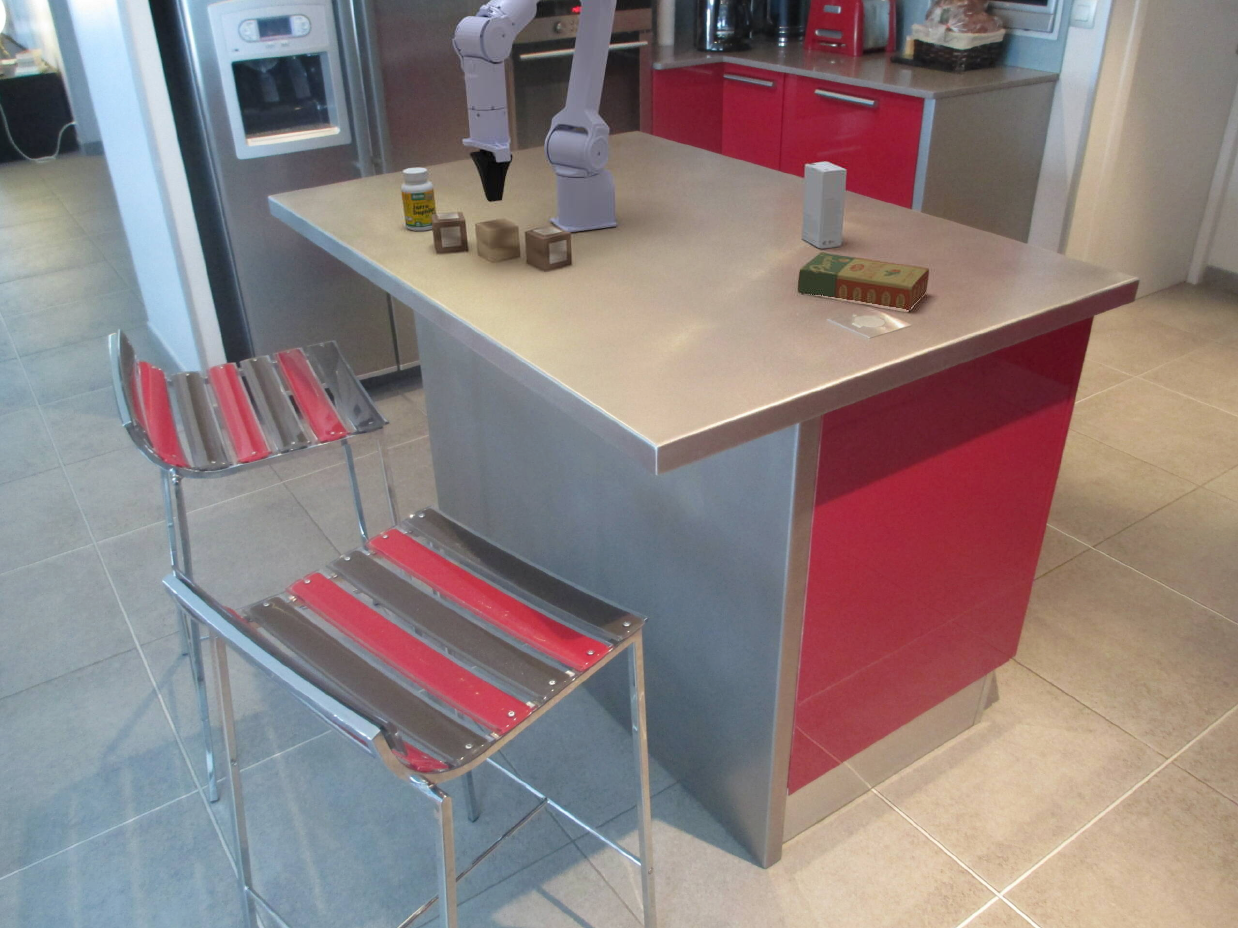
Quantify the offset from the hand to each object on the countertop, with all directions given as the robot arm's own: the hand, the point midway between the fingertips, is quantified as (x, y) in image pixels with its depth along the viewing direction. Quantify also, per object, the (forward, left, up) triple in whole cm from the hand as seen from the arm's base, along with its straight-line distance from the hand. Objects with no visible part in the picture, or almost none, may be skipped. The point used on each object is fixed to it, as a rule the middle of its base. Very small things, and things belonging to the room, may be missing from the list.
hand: (494, 200), depth 150 cm
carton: (-42, +37, -9) cm, 57 cm away
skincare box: (-49, +15, -9) cm, 52 cm away
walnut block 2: (-6, +7, -9) cm, 13 cm away
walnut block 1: (+6, -7, -9) cm, 13 cm away
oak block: (0, 0, -9) cm, 9 cm away
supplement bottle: (+8, -20, -9) cm, 23 cm away
